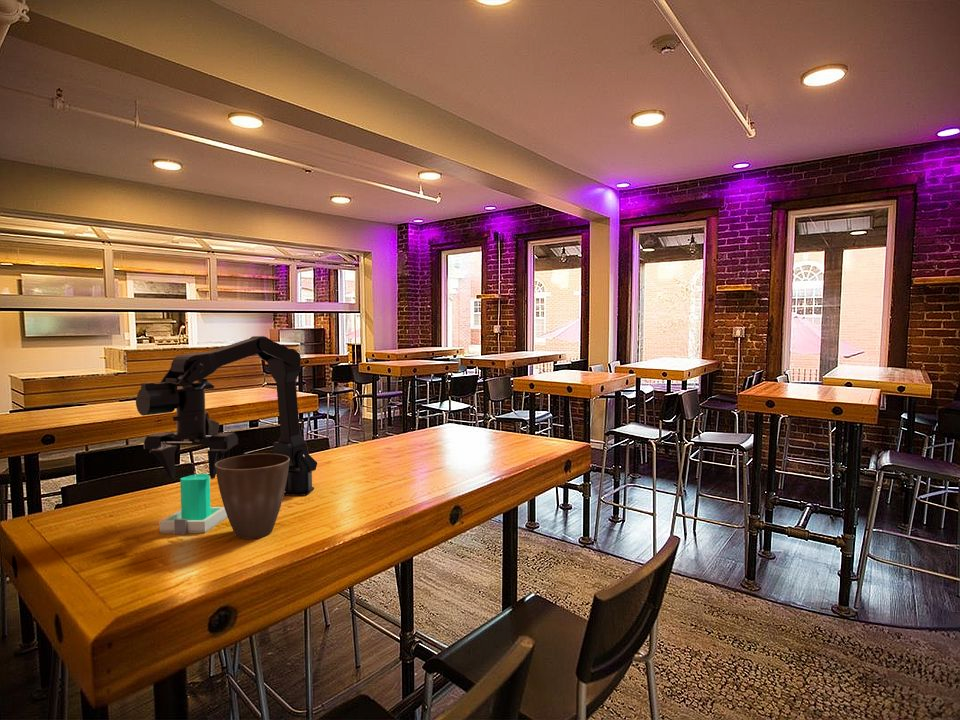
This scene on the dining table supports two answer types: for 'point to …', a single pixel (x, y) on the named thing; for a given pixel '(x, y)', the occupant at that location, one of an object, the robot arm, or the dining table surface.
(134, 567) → the dining table surface
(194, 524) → the white square tray
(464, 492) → the dining table surface
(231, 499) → the plant pot
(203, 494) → the candle
